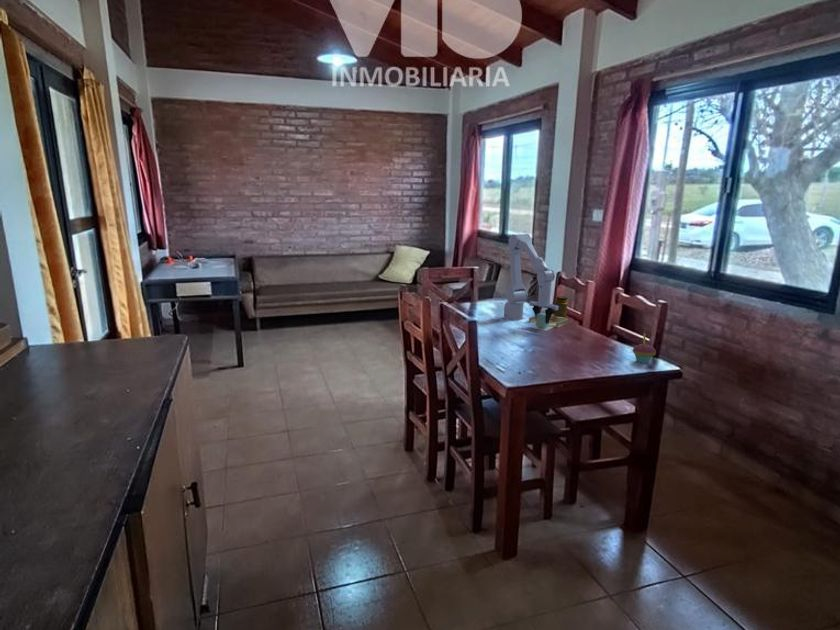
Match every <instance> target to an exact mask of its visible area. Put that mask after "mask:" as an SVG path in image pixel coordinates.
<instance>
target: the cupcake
mask: <svg viewBox="0 0 840 630" xmlns="http://www.w3.org/2000/svg"><path fill="white" fill-rule="evenodd" d="M642 341H643V342H642V343H639V344H636V345H634V346H633V349H632V353H633V354H634V356H635V361H636V362H637V361H638V362H637V363H639V362H641V363H640V364H644V363H646V364H650V361H651V359H652V358H653V357H654V356H656V355H657V354H656V353H657V351H656V349H655V347H653V345H650V344H646V331H644V333H643V339H642Z"/></svg>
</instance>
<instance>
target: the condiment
mask: <svg viewBox="0 0 840 630" xmlns="http://www.w3.org/2000/svg"><path fill="white" fill-rule="evenodd" d="M554 305H557V306H558V310H554V313H553V314H554V315H553V316H557V317H562V318H567V312H568V297H567V296H561V295H560V296H559V295H558V296H556V300H555V304H554Z"/></svg>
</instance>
